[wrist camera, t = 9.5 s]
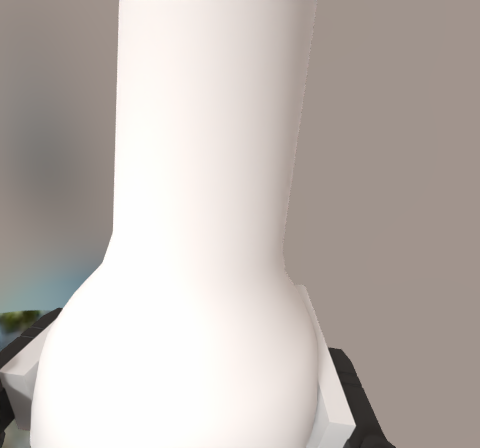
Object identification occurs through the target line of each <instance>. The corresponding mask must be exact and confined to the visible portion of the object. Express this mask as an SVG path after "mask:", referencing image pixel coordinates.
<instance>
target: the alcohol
mask: <svg viewBox="0 0 480 448" xmlns="http://www.w3.org/2000/svg"><path fill="white" fill-rule="evenodd" d="M316 6H317V0H119V29H118V65H117V103H116V139H115V141H116V142H115V177H114V178H115V179H114V217H113V234H112V237H111V240H110V243H109V246H108V249H107V252H106V255H105V258H104V261H103V263H102V264H101V265H100V266H99V267H98V269H97V270H95V272H94V273H93V274H92V275H91V276H90V277H89V278H88V279H87V280H86V281H85V282H84V283H83V284H82V285H81V286H80V288H79V289H78V290H77V291H76V292H75V293H74V294H73V296H72V297H71V298H70V300H69V301H68V303H67V304H66V306H65V307H64V308H63V310H62V311H61V312H60V314H59V316H58V317H57V319H56V321H55V322H54V324H53V326H52V327H51V329H50V331H49V332H48V334H47V337H46V340H45V343H44V347H43V350H42V353H41V356H40V360H39V366H38V371H37V377H36V383H35V389H34V395H33V401H32V407H31V429H30V445H31V448H306V446H307V443H308V441H309V439H310V436H311V433H312V428H313V423H314V418H315V413H316V407H317V383H318V349H317V338H316V335H315V331H314V327H313V323H312V321H311V318H310V316H309V314H308V311H307V309H306V307H305V304H304V303H303V301H302V299H301V297H300V295H299V293H298V291H297V289H296V288H295V286H294V284H293V283H292V281H291V280H290V278H289V276H288V275H287V273H286V271H285V263H284V255H283V240H284V233H285V226H286V219H287V212H288V204H289V197H290V191H291V183H292V176H293V169H294V162H295V155H296V148H297V141H298V133H299V127H300V120H301V113H302V105H303V98H304V91H305V84H306V77H307V69H308V63H309V56H310V49H311V42H312V34H313V28H314V20H315V13H316Z"/></svg>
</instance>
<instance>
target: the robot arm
mask: <svg viewBox="0 0 480 448" xmlns="http://www.w3.org/2000/svg"><path fill="white" fill-rule="evenodd" d="M294 286H295V288H296V289H297V291H298V293H299V295H300V297H301V299H302V301H303V303H304V304H305V307H306V309H307V311H308V314H309V316H310V318H311V321H312V323H313V327H314V331H315V335H316V338H317V349H318V383H317V407H316V413H315V418H314V423H313V428H312V433H311V436H310V439H309V441H308V443H307V446H306V448H396V447H395V446H393V445H392V444H391V443H390V442H388V441H387V439H386V437H385V436H384V434H383V432H382V430H381V427H380V425H379V423H378V421H377V419H376V416H375V414H374V412H373V409H372V407H371V405H370V403H369V401H368V398H367V396H366V394H365V392H364V389H363V388H362V385H361V383H360V381H359V378H358V377H357V374H356V372H355V369H354V367H353V365H352V362H351V361H350V359H349V358H348V357H347V356H346V355H345V353H344V352H343V351H342V350H341V349H335V348H328V347H327V345H326V342H325V339H324V336H323V334H322V331H321V328H320V325H319V322H318V320H317V317H316V314H315V312H314V309H313V306H312V304H311V300H310V298H309V295H308V292H307V289H306V287H305V285H299V284H294ZM62 310H63V308H57V309H55V310H53V311H51V312H50V313H48V314H46V315H44V316H43V317H41V318H40V319H39V320H38V321H37V322H35V323H34V324H33V325H32V326H31V328H28V329H27V330H26V331H25V332H23V333H22V334H21V336H20V337H17V338H16V339H15V340H14V341H13V342H11V343H10V344H9V345H8V346H7V347H5V348H4V349H3V350H2V351H1V352H0V448H1V447H2V445H3V442H4V438H5V432H4V430H5V429H6V428H7V426H8V425H9V424H10V423H11V422H12V421H13V419H14V418H15V421H16V424H17V426H18V429H22V430H29V431H30V429H31V407H32V401H33V395H34V389H35V383H36V377H37V371H38V366H39V360H40V356H41V353H42V350H43V347H44V343H45V340H46V337H47V334H48V332H49V331H50V329H51V327H52V326H53V324H54V322H55V321H56V319H57V317H58V316H59V314H60V312H61V311H62Z"/></svg>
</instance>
